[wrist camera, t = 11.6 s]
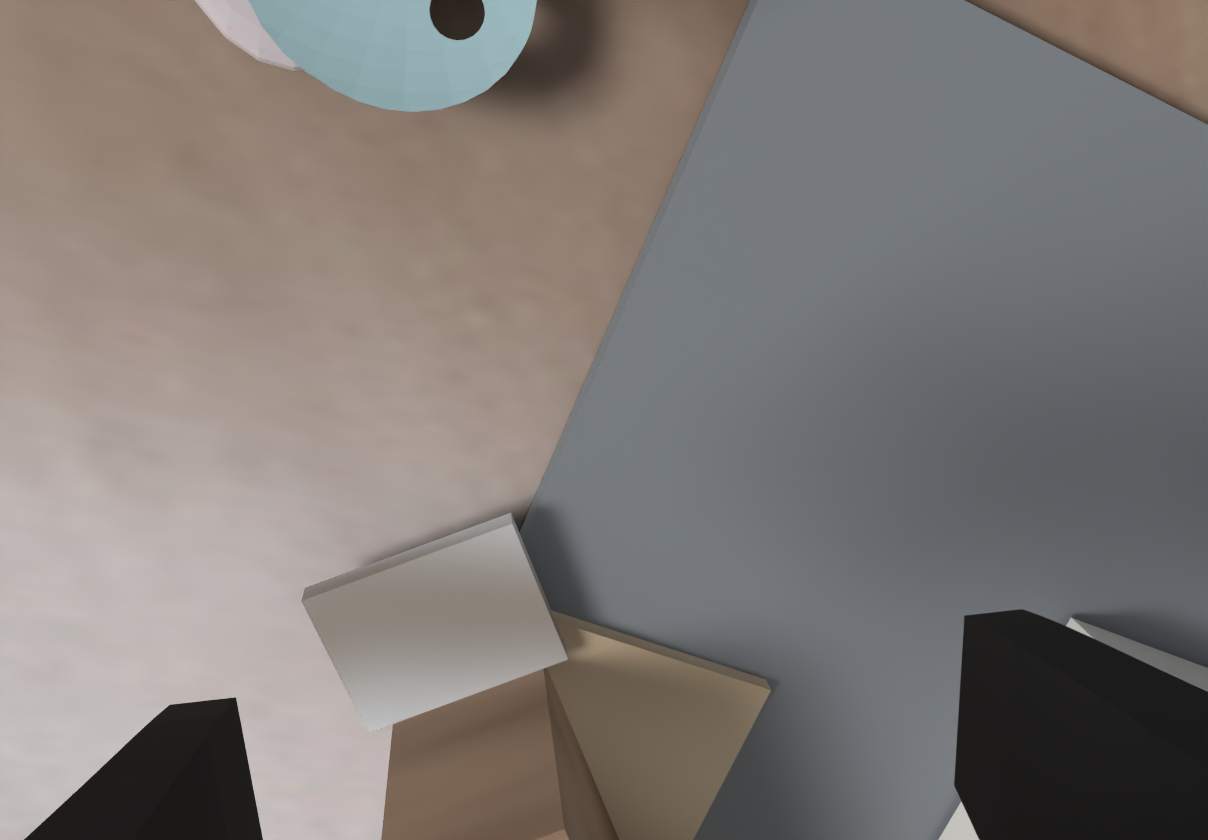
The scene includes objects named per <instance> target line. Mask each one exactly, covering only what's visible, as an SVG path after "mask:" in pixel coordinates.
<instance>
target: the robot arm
mask: <svg viewBox="0 0 1208 840" xmlns="http://www.w3.org/2000/svg"><path fill="white" fill-rule="evenodd" d="M954 786H955V788H956V791H957V793H958V795H959V797H960V799H961V801H962V804H963V806H964V808H965V810H966V812H967V815H968V817H969V819H970V821H971V823H972V825H973V828H974V830H975V832H976V834H977V836H978V838H979V840H1208V692H1207V691H1205V690H1203V689H1201V688H1199V687H1197V686H1194V685H1192V684H1190V683H1188V682H1186V681H1183V680H1181V679H1179V678H1177V677H1175V676H1173V675H1171V674H1168V673H1166V672H1164V671H1162V670H1160V669H1158V668H1156V667H1153V666H1151V665H1149V664H1147V663H1145V662H1143V661H1141V660H1138V659H1136V658H1134V657H1132V656H1130V655H1128V654H1126V653H1124V652H1121V651H1119V650H1117V649H1115V648H1113V647H1111V646H1109V645H1106V644H1104V643H1102V642H1100V641H1098V640H1096V639H1094V638H1091V637H1089V636H1087V635H1085V634H1082V633H1080V632H1078V631H1076V630H1074V629H1071V628H1069V627H1067V626H1065V625H1062V624H1060V623H1058V622H1055V621H1053V620H1050V619H1048V618H1045V617H1043V616H1040V615H1037V614H1035V613H1032V612H1029V611H1026V610H1023V609H1018V610H1009V611H1001V612H992V613H983V614H974V615H965V616H964V630H963V647H962V663H961V680H960V696H959V712H958V729H957V745H956V762H955V778H954ZM24 840H263V838H262V833H261V828H260V823H259V817H258V812H257V807H256V801H255V796H254V791H253V786H252V780H251V775H250V770H249V764H248V759H247V754H246V749H245V743H244V738H243V733H242V727H241V722H240V717H239V712H238V706H237V701H236V698H227V699H218V700H209V701H201V702H192V703H183V704H174V705H169V706H168V707H167V708H166V709H165V710H163V711H162V712H161V713H160V714H159V715H157V716H156V717H155V718H154V719H153V720H152V721H151V722H150V723H148V724H147V725H146V726H145V727H144V728H143V729H142V730H141V731H140V732H139V733H138V734H137V735H136V736H134V737H133V738H132V739H131V740H130V741H129V742H128V743H127V744H126V745H125V746H124V747H123V748H122V749H121V750H120V751H119V752H118V753H117V754H115V755H114V756H113V757H112V758H111V759H110V760H109V761H108V762H107V763H106V764H105V765H104V766H103V767H102V768H101V769H100V770H99V771H98V772H97V773H95V774H94V775H93V776H92V777H91V778H90V779H89V780H88V781H87V782H86V783H85V784H84V785H83V786H82V787H81V788H79V789H78V790H77V791H76V792H75V793H74V794H73V795H72V796H71V797H70V798H69V799H68V800H67V801H65V802H64V803H63V804H62V805H61V806H60V807H59V808H58V809H57V810H56V811H55V812H54V813H53V814H51V815H50V816H49V817H48V818H47V819H46V820H45V821H44V822H43V823H42V824H41V825H40V826H38V827H37V828H36V829H35V830H34V831H33V832H32V833H31V834H30V835H29V836H28V837H27V838H25V839H24Z"/></svg>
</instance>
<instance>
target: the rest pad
mask: <svg viewBox="0 0 1208 840" xmlns="http://www.w3.org/2000/svg"><path fill="white" fill-rule="evenodd" d="M551 611H552V610H551ZM552 613H553V616H554V618H555V621H556V623H557V626H558V628H559V630H560V633H561V635H562V638H563V640H564V643H565V645H566V650H567V655H568V660H566V661H563V662H560V663H557V664H555V665H552V666H549V667H547V669H548V672H549V674H550V676H551V679H552V681H553V684H554V686H555V688H556V691H557V693H558V695H559V698H560V700H561V703H562V705H563V707H564V710H565V712H566V714H567V717H568V719H569V722H570V724H571V726H572V729H573V731H574V733H575V736H576V738H577V741H578V743H579V745H580V748H581V750H582V752H583V755H584V757H585V760H586V762H587V764H588V767H589V769H590V771H591V774H592V776H593V779H594V781H595V783H596V786H597V788H598V790H599V793H600V795H601V798H602V800H603V802H604V805H605V807H606V809H607V812H608V814H609V817H610V819H611V821H612V824H613V826H614V828H615V831H616V833H617V836H618V838H619V840H693V839H694V837H695V835H696V833H697V831H698V830H699V828H700V826H701V824H702V822H703V820H704V818H705V816H706V814H707V812H708V810H709V808H710V806H711V805H712V803H713V801H714V799H715V797H716V795H717V793H718V791H719V789H720V787H721V785H722V783H723V782H724V780H725V778H726V776H727V774H728V772H729V770H730V768H731V766H732V764H733V762H734V760H735V758H736V757H737V755H738V753H739V751H740V749H741V747H742V745H743V743H744V741H745V739H746V737H747V735H748V734H749V732H750V730H751V728H752V726H753V724H754V722H755V720H756V718H757V716H758V714H759V712H760V711H761V709H762V707H763V705H764V703H765V701H766V699H767V697H768V695H769V693H770V691H771V689H770V687H769V685H768V683H767V681H766V679H763V678H760V677H757V676H754V675H751V674H748V673H745V672H742V671H739V670H735V669H732V668H729V667H726V666H723V665H720V664H717V663H714V662H711V661H707V660H704V659H701V658H698V657H695V656H692V655H689V654H686V653H683V652H680V651H676V650H673V649H670V648H667V647H664V646H661V645H658V644H655V643H652V642H648V641H645V640H642V639H639V638H636V637H633V636H630V635H627V634H624V633H620V632H617V631H614V630H611V629H608V628H605V627H602V626H599V625H596V624H593V623H589V622H586V621H583V620H580V619H577V618H574V617H571V616H568V615H565V614H561V613H558V612H555V611H552Z"/></svg>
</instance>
